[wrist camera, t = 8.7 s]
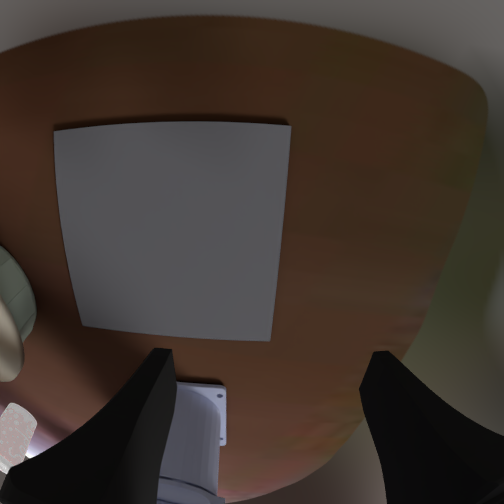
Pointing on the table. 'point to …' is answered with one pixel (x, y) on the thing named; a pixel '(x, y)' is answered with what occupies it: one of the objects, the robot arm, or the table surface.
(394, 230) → the table surface
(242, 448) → the table surface
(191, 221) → the mat
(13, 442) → the beverage cup
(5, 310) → the board
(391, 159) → the table surface
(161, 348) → the robot arm
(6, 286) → the bowl
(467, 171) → the table surface
